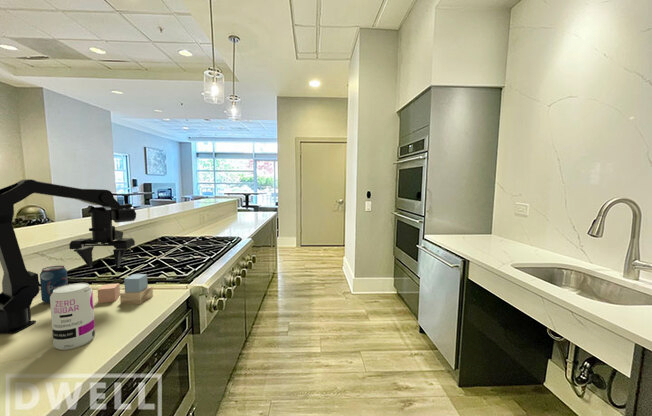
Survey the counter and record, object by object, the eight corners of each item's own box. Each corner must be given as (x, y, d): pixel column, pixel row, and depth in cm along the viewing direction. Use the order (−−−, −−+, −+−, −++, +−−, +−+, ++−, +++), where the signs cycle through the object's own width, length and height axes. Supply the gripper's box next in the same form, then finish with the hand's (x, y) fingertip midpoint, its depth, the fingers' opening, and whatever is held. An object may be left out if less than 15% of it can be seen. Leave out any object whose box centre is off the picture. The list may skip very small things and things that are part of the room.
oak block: (140, 304, 98) (139, 293, 97) (120, 304, 98) (120, 293, 98) (152, 296, 105) (152, 286, 104) (134, 296, 105) (134, 286, 104)
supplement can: (91, 330, 80) (88, 280, 78) (98, 341, 74) (95, 287, 73) (51, 343, 73) (47, 288, 72) (56, 355, 68) (52, 296, 67)
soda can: (51, 305, 96) (49, 271, 95) (36, 303, 97) (33, 269, 96) (73, 297, 103) (71, 265, 102) (59, 295, 104) (56, 264, 103)
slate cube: (139, 292, 99) (139, 278, 98) (124, 292, 98) (124, 278, 98) (147, 287, 104) (147, 274, 103) (133, 287, 103) (133, 274, 103)
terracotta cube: (115, 301, 100) (114, 287, 99) (98, 303, 98) (97, 289, 98) (120, 296, 104) (119, 283, 104) (103, 297, 103) (103, 284, 102)
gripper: (142, 221, 108) (143, 260, 109) (90, 221, 106) (93, 261, 108) (124, 225, 97) (126, 269, 98) (66, 225, 95) (69, 269, 97)
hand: (104, 266), depth 101 cm, fingers open, 9 cm apart
